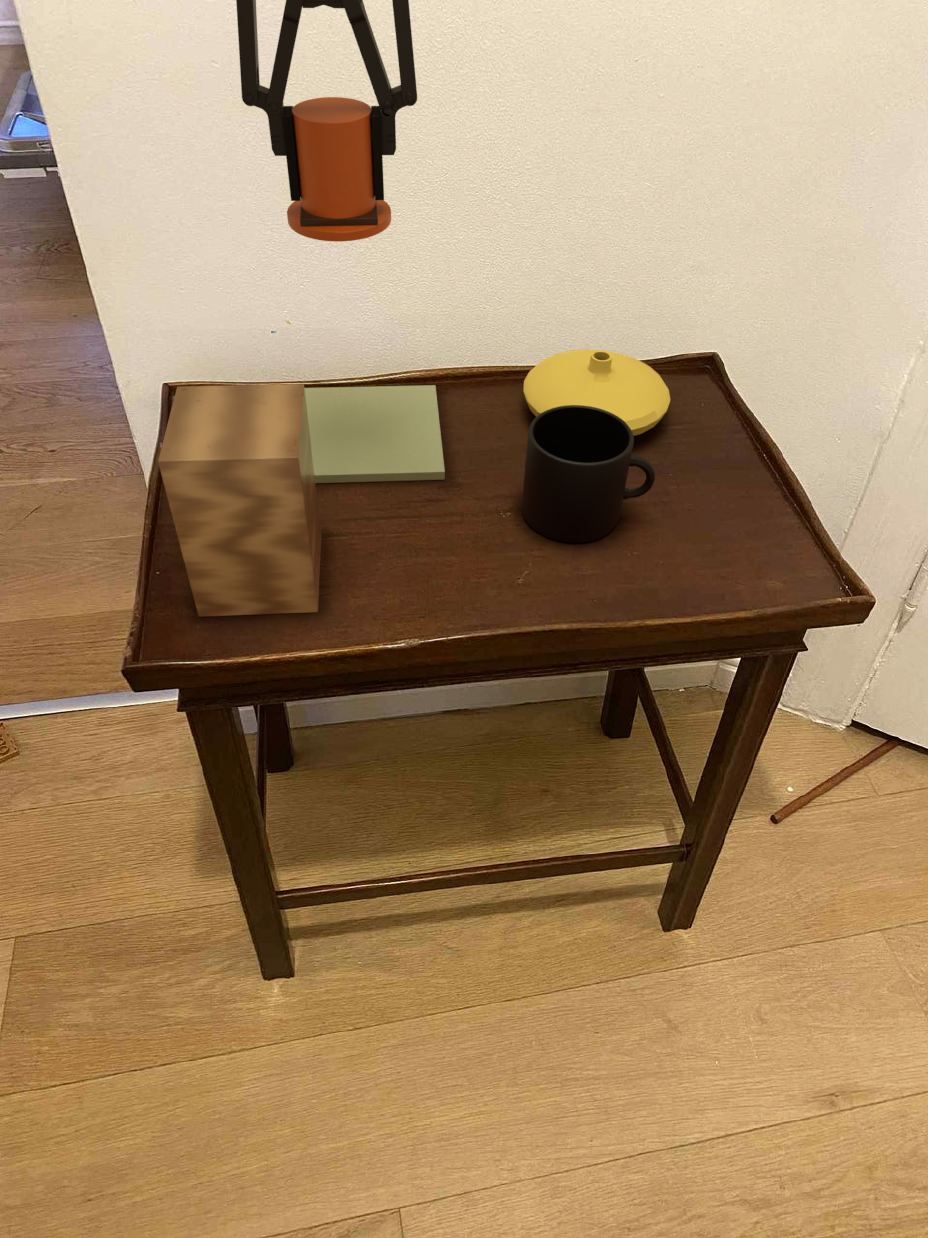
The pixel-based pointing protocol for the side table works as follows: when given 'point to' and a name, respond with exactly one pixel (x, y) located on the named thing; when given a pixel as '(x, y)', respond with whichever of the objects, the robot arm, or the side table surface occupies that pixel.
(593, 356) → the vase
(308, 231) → the hat
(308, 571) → the block
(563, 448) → the mug
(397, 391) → the mat
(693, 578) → the side table surface
